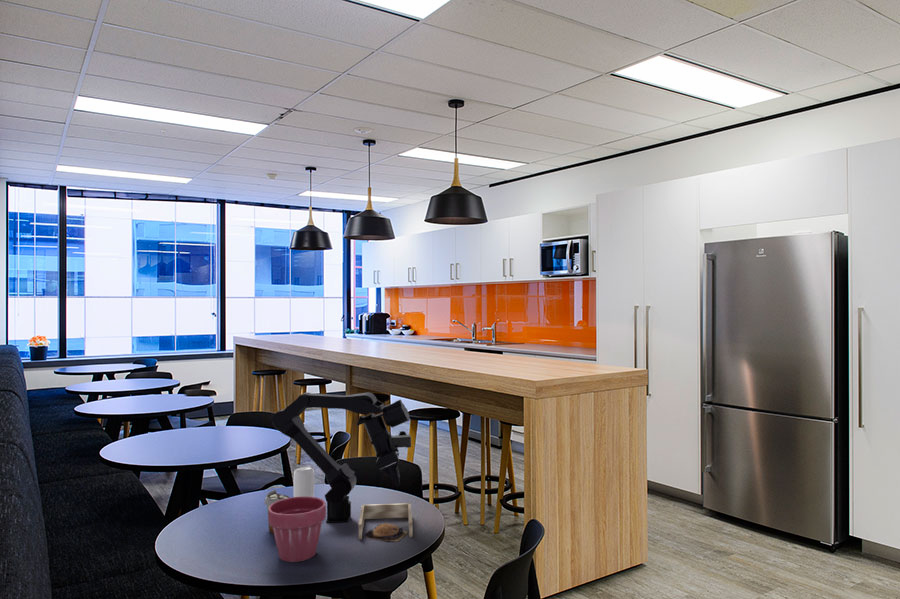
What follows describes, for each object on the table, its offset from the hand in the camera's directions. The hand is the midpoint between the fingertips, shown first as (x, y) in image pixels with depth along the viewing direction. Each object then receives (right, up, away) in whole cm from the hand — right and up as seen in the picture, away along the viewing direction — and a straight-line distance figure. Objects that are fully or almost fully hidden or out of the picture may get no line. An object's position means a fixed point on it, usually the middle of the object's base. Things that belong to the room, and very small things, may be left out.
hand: (398, 482), depth 181 cm
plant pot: (-24, -11, -25) cm, 36 cm away
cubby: (-3, -11, -6) cm, 13 cm away
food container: (-33, -11, -9) cm, 36 cm away
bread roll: (-2, -12, -12) cm, 17 cm away
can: (-31, -12, +14) cm, 36 cm away
